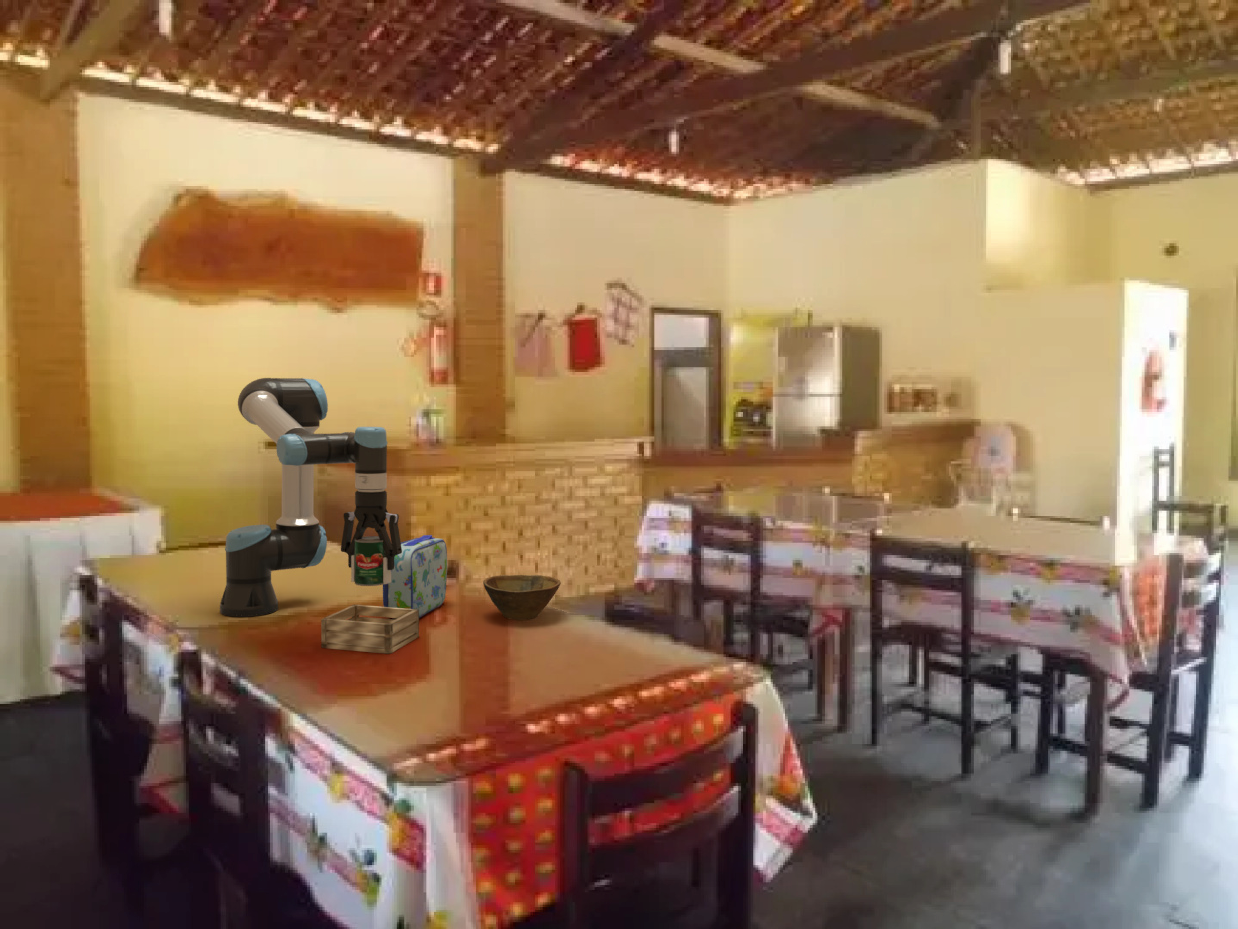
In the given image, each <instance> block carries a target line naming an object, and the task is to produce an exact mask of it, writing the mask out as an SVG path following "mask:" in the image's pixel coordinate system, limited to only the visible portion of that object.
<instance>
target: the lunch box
mask: <svg viewBox="0 0 1238 929" xmlns="http://www.w3.org/2000/svg"><path fill="white" fill-rule="evenodd" d="M401 548H402V553H401V554H398V555H395V557H394V569H393V570H391V582H390V583H388V584H383V585H382V604H383V607H392V608H404V609H417V610H419V619H420V618H421V617H423V616H425V615H427V614H428V613H430V612H432V611H434V610H435V609H436V608H439V607H441V606H442V605H443V603H444V602H445V600H446V593H447V581H448V580H447V576H448V549H447V544H446V542H445V540H444V539H443V538H438V537H437V538H435V537H433V535H432V534H429V535H428V534H427V535H425V534H424V535H422V536H420V537H415V538H413V539H409V540H405V541H402V542H401Z"/></svg>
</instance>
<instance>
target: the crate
mask: <svg viewBox="0 0 1238 929" xmlns="http://www.w3.org/2000/svg"><path fill="white" fill-rule="evenodd" d="M390 618H392V619H390ZM320 622H321V623H320V626H321V627H320V629H321V630H320V631H321V632H320V634H321V648H322V649H323V648H324V649H329V650H331V649H333V650H341V651H343V650H344V651H354V652H367V653H376V654H385V655H386V654H387V655H388V654H389V655H391V654H392V653H394V652H396V651H397V650H399V649H401V648H403V647H404V646H407V644H409V643H411V642H412V641H414V640H416V639H417V638H419V637H420V636H419V635H420V618H419V610H417V609H404V608H392V607H384V606H377V605H366V604H365V605H363V604H352V605H350V606H347V607H346V608H343V609H341V610H339V611H337V612H334V613H331V614H330V615H328V616H326V617H323V618H321V619H320Z"/></svg>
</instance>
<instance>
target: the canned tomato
mask: <svg viewBox="0 0 1238 929" xmlns="http://www.w3.org/2000/svg"><path fill="white" fill-rule="evenodd" d="M385 556H386V554H385V551H384V549H383V540H381V541H380V538H379V536H375V535H373V536H372V535H371V536H370V535H369V536H368V535H367V536H363V537H362V539H359V540H356V539H355V582H354V584H355V585H356V586H361V587H376V586H383V558H384V557H385Z"/></svg>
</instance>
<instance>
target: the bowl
mask: <svg viewBox="0 0 1238 929" xmlns="http://www.w3.org/2000/svg"><path fill="white" fill-rule="evenodd" d="M482 582H483V587H484V589H485V591H486V592H487V595H488V596H489V598H490V600H491V601H492V603H493V604H494V606H495V607H496V608H497V609H498V611H499V612H500V613H501V614H502V616H503V617H504V618H506V619H509V620H515V621H525V620H532V619H535V618H537V617H538V616H539V614H541V612H542V611H543V610H544V609H545V608H546V607H547V605H548V604H549V603H550V601H551V600H552V599H553V598H554V597H555V595H556V593H557V592H558V590H559V588H560V586H561V581H560V579H559V578H556V577H555V576H554V577H553V576H550V575H549V576H548V575H539V574H536V575H535V574H534V575H533V574H532V575H529V574H527V575H526V574H512V575H511V574H510V575H508V574H502V575H501V574H500V575H492V576H490V577H487V578H485V579H484V580H483V581H482Z"/></svg>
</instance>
